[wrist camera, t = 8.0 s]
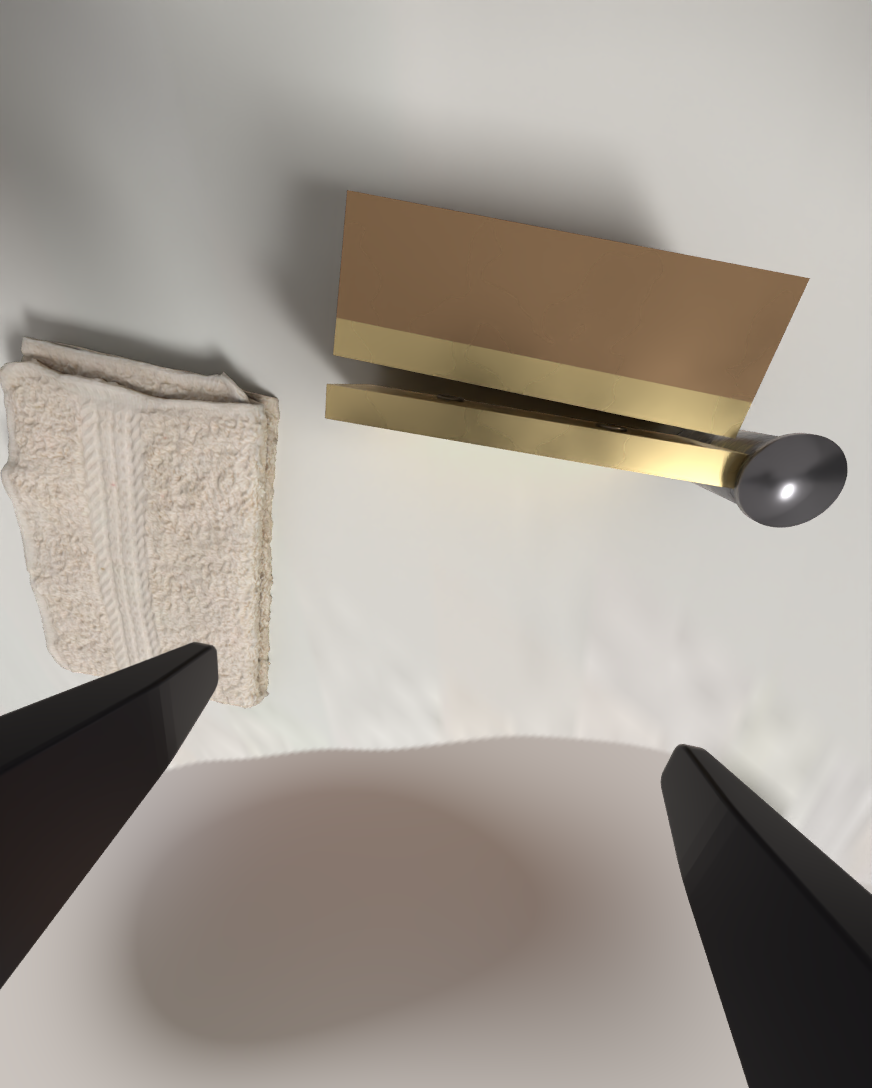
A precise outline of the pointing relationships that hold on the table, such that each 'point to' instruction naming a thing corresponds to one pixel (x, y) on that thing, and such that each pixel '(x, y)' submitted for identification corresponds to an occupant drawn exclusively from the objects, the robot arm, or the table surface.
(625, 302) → the block
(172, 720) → the robot arm
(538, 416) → the swing leaf
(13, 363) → the washcloth
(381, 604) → the table surface
